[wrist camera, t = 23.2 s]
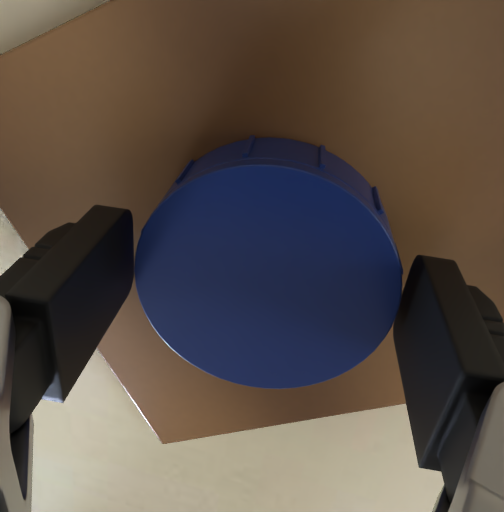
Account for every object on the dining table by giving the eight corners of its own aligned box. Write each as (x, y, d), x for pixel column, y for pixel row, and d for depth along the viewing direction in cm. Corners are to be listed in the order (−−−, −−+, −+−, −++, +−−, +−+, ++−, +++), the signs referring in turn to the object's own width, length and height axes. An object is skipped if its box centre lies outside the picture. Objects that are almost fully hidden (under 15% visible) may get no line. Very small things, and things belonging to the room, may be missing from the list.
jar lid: (118, 262, 12) (90, 302, 11) (244, 80, 10) (230, 99, 8) (290, 373, 13) (285, 423, 12) (444, 238, 11) (464, 281, 9)
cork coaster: (486, -182, 8) (498, -193, 7) (553, 362, 13) (563, 378, 12) (-62, 88, 11) (-80, 94, 11) (167, 430, 16) (161, 445, 16)
